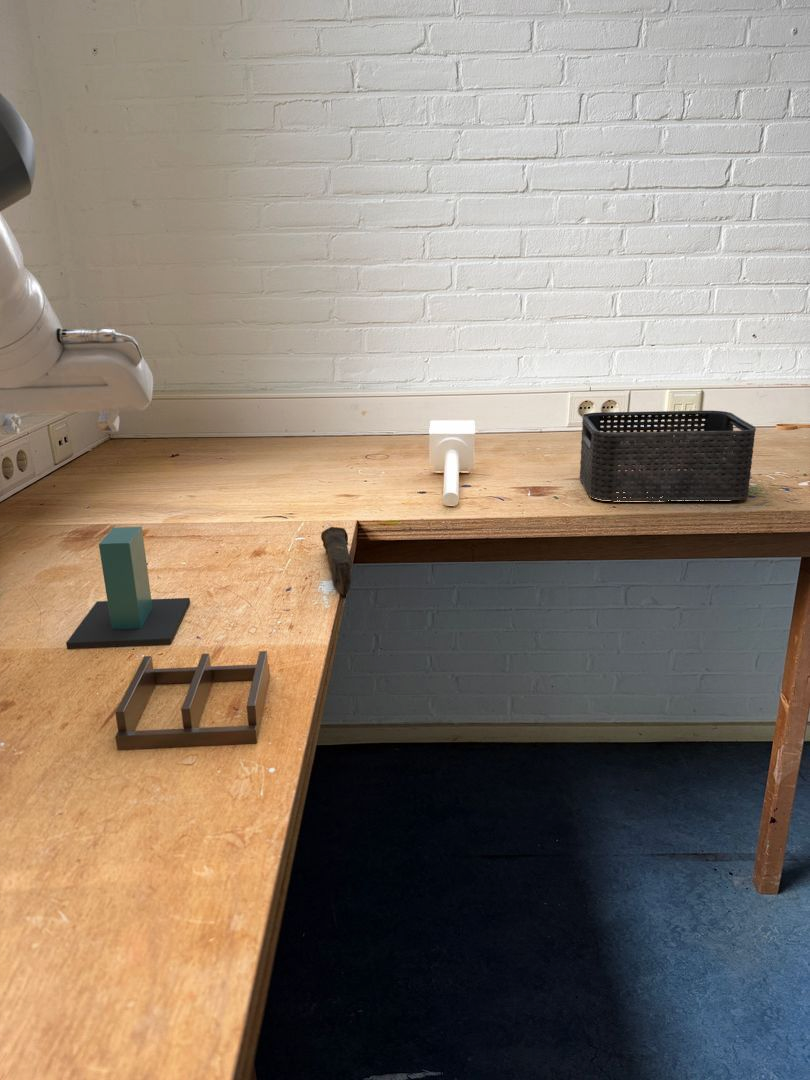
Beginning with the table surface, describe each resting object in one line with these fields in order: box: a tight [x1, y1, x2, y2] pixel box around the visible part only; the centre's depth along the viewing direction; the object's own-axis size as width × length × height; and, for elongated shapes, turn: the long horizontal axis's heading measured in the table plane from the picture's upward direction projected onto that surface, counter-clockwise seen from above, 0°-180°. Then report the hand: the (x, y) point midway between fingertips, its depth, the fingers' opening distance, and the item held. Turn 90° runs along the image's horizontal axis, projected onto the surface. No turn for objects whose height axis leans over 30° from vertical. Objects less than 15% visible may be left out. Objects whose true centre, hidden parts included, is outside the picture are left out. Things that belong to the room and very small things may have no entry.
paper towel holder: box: [428, 420, 476, 506], centre depth 157 cm, size 9×9×32 cm
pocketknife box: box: [98, 526, 153, 630], centre depth 97 cm, size 4×6×11 cm, turn 4°
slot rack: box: [114, 650, 271, 751], centre depth 79 cm, size 13×13×4 cm
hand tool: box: [320, 526, 352, 596], centre depth 114 cm, size 19×4×5 cm, turn 6°
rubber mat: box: [65, 597, 191, 650], centre depth 99 cm, size 12×12×1 cm
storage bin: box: [579, 410, 757, 501], centre depth 150 cm, size 29×19×13 cm
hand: (62, 427), depth 78 cm, fingers open, 8 cm apart
